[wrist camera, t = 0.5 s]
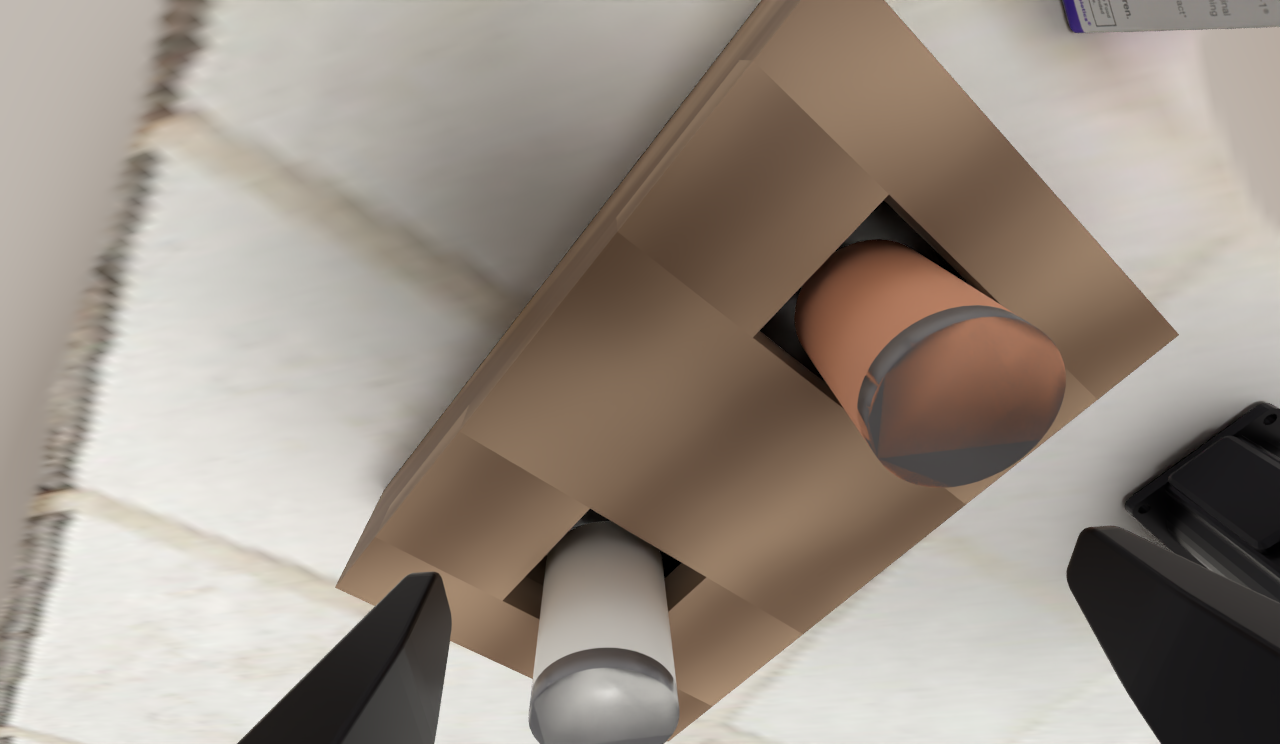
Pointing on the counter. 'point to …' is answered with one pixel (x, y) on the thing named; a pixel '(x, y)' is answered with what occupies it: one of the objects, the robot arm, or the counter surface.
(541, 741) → the plug
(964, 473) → the terracotta plug
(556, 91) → the counter surface
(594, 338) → the wooden holder block
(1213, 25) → the supplement box
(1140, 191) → the counter surface
